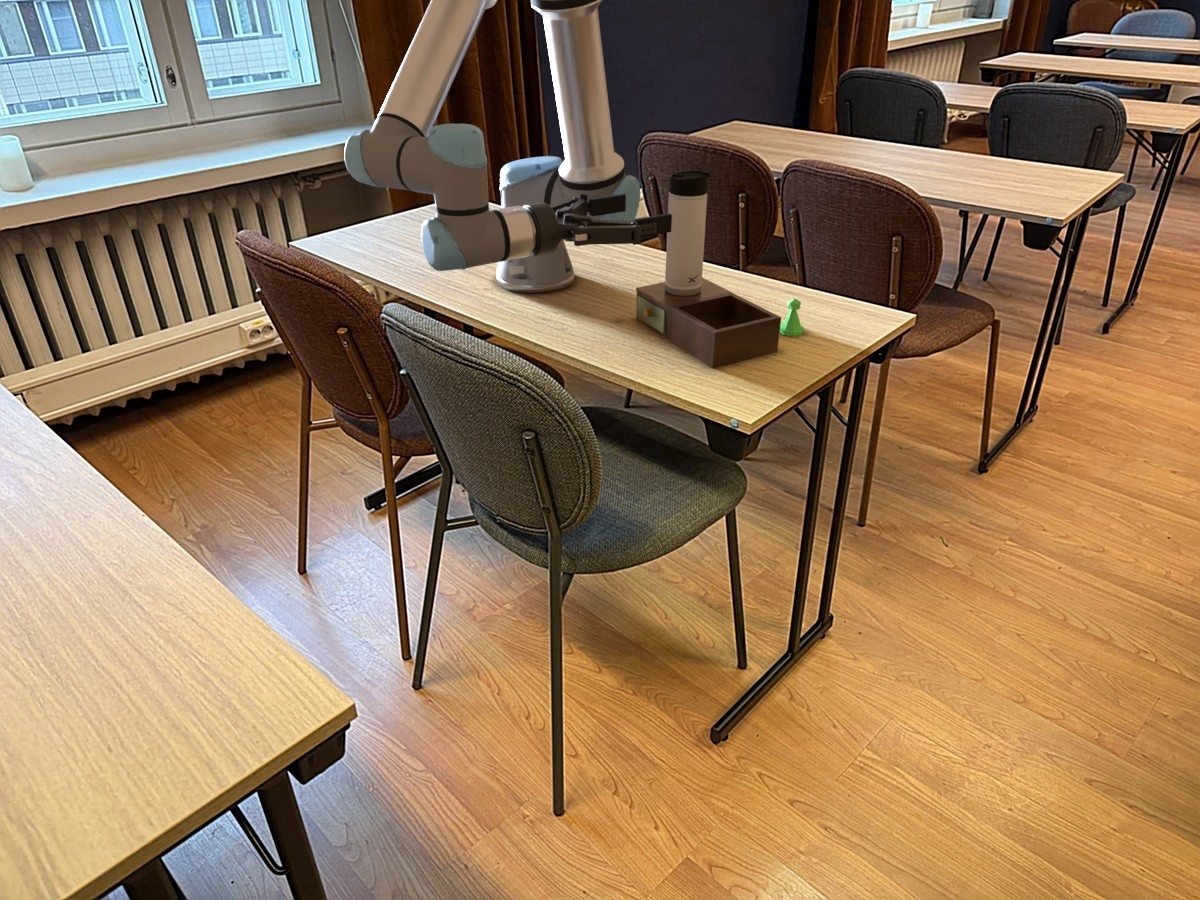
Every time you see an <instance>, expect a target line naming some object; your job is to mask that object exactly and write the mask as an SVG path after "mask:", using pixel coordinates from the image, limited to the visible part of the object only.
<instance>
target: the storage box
mask: <svg viewBox="0 0 1200 900" xmlns="http://www.w3.org/2000/svg"><path fill="white" fill-rule="evenodd" d="M701 282H702V286H701V291H700V292H699V293H698V294H696V295H692V296H677V295H672V294H670V293H668V292H667V291H666V290H665V281H664V282H659V283H653V284H647V285H644V286H637V287H636V288H635V291H636V306H635V307H636V308H635V309H636V310H635V312H636V313H635V321H637V322H638V323H640V324H641V325H643V326H645V327H647V329H650V330H651V331H652V332H654V333H656V334H658V335H659V336H661V337H662V338H664V339H665V340H667V341H669V342H670V343H672V344H673V345H675V346H677V347H678V348H680V349H681V350H683V351H685V352H686V353H687V354H689V355H691V356H692V357H693V358H696V359H697V360H699V361H700V362H702V363H703V364H705V365H707V366H708V367H710V368H711V369H716V368H720V367H723V366H727V365H730V364H735V363H739V362H743V361H746V360H750V359H755V358H759V357H762V356H767V355H770V354H774V353H777V352H778V350H779V349H778V348H779V341H780V334H781V333H780V325H781V324H782V323H781V322H782V317H781V316H779V315H777V314H776V313H774V312H771V311H770V310H769V309H768V310H767V309H765V308H764V307H762V306H760V305H757V304H755V303H754V302H752V301H750V300H748V299H746V298H744V297H742V296H740V295H738V294H736V293H734V292H733V291H731V290H728V289H726V288H724V287H723V286H720V285H719V284H716V283H714V282H713V281H710V280H708V279H707V278H705V277H703V276H702V281H701Z"/></svg>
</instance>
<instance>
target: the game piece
mask: <svg viewBox="0 0 1200 900" xmlns="http://www.w3.org/2000/svg"><path fill="white" fill-rule="evenodd" d="M801 305H802V301H800V300H798V299H796V298H792V299H789V300H787V305H786V308H787V309H788V310H789V311H788V314H787V315H786V317H785V319H784V321H783V322H782V323H781V324H780V333H779V334H781V335H782V336H787V337H798V336H802V335H803V333H804V331H805V326H803V325H801V321H800V318H799V314H798V311H797V310H800V309H801Z"/></svg>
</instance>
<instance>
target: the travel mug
mask: <svg viewBox="0 0 1200 900" xmlns="http://www.w3.org/2000/svg"><path fill="white" fill-rule="evenodd" d="M711 176H712V173H711V170H700V169H699V170H697V169H695V170H685V171H680V172H676V173H675V172H674V173H673V174H672V175H671V176H670V177H669V185H668V186H669V188H668V203H667V205H668V206H667V214H668V213H670V214H672V225H671V232H668V233H666V250H665V253H666V254H665V273H664V275H665V278H664V282H665V290H666V291H667V292H668V293H670V294H672V295H677V296H692V295H696V294H698V293H699V292H700V291H701V286H702V282H701V281H702V277H703V267H704V252H705V237H706V220H707V205H708V187H709V186H708V178H711Z"/></svg>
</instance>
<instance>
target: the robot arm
mask: <svg viewBox="0 0 1200 900" xmlns="http://www.w3.org/2000/svg"><path fill="white" fill-rule="evenodd" d="M497 1H498V0H430V1H429V3H428V6H427V8H426V10H425V12H424V15H423V17H422V19H421V21H420V23H419V26H418V27H417V30H416V32H415V34H414V37H413V38H412V40H411V43H410V45H409V47H408V50H407V51H406V54H405V56H404V58H403V61H402V63H401V65H400V67H399V69H398V71H397V73H396V76H395V78H394V80H393V82H392V83H391V87H390V89H389V91H388V93H387V95H386V97H385V99H384V102H383V104H382V106H381V108H380V111H379V113H378V114H377V118H376V119H375V121H374V123H373V126H372V127H371V129H363V130H357V131H355V132H354V133H352V135H350V136H349V137H348V138H347V140H346V143H345V145H344V153H343V157H344V164H345V167H346V170H347V171H348V173H349V175H350V176H351V177H352V178H353V179H354V180H355V181H357V182H358V183H361V184H364V185H369V186H372V187H375V188H379V189H383V188H387V189H396V190H403V191H404V190H405V191H410V192H415V193H421V194H427V195H433V198H434V199H433V200H434V205H435V206H434V207H435V216H433V217H431V218H428V219H425V220H424V221H423V223H422V224H421V229H420V230H421V233H420V241H421V247H422V250H423V254H424V257H425V260H426V261H427V263H428V265H429V266H430V267H431V268H433V269H434V270H435V271H438V272H446V271H456V270H466V269H469V268H470V269H471V268H475V267H480V266H485V265H490V264H495V263H497V267H496V273H495V276H496V283H497V284H498V286H499V287H501V288H503V289H505V290H508V291H511V292H517V293H524V294H525V293H526V294H540V293H541V294H543V293H550V292H554V291H555V292H556V291H559V290H563V289H566V288H567V287H569V286H570V285H572V284H573V283H574V281H575V280H574V279H575V272H574V266H573V263H572V261H571V258H570V255H569V252H568V249H567V246H566V243H565V242H572V243H573V245H574V246H575V247H581V246H589V245H632V246H636V245H638V244H641V238H644V237H650V236H656V235H662V234H667V233H668V232H671V225H672V214H670V213H668V212H667V213H662V214H657V215H650V216H645V217H640V218H639V217H637V214H638V211H639V207H640V201H641V186H640V182H639V180H638V179H637V177H635V176H633V175H632V174H626V167H625V161H624V158H623V157H622V156H621V155H619V154H618V153H617V152H615V147H614V138H613V130H612V129H613V128H612V122H611V112H610V111H611V110H610V105H609V96H608V95H609V94H608V87H607V78H606V70H605V62H604V60H605V59H604V53H603V43H602V35H601V27H600V18H599V9H598V8H599V6H600V4H601V3H602V1H603V0H530V6H531V8H532V9H533V10H535V11H536V12H537V13H538V14H539V15H541V16H542V19H543V25H544V32H545V39H546V44H547V52H548V57H549V65H550V70H551V76H552V82H553V89H554V94H555V102H556V108H557V114H558V120H559V128H560V133H561V139H562V145H563V153H564V160H562V158H561V157H560V156H555V155H543V156H535V157H527V158H522V159H517V160H514V161H510V162H508V163H506V164H505V165H503V166H502V168H501V169H500V173H499V177H500V178H499V183H500V184H499V191H500V204H501V205H500V206H501V208H496V209H490V201H489V185H488V184H489V183H488V165H487V164H488V158H487V154H486V148H485V147H486V146H485V138H484V133H483V131H482V130H481V129H480V127H478V126H476V125H473V124H470V123H468V124H467V123H444V124H443V123H442V124H438V125H435V122H436V120H437V118H438V116H439V113H440V111H441V109H442V107H443V105H444V103H445V101H446V98H447V96H448V93H449V91H450V89H451V86H452V84H453V82H454V80H455V78H456V75H457V73H458V71H459V69H460V67H461V65H462V62H463V60H464V59H465V56H466V54H467V52H468V49H469V47H470V44H471V43H472V40H473V38H474V36H475V34H476V31H477V29H478V26H479V25H480V22H481V20H482V17H483V16H484V13H485V11H486V10H489V9H490V8H493V7H494V6H495V5H496V3H497ZM636 217H637V218H636Z"/></svg>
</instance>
